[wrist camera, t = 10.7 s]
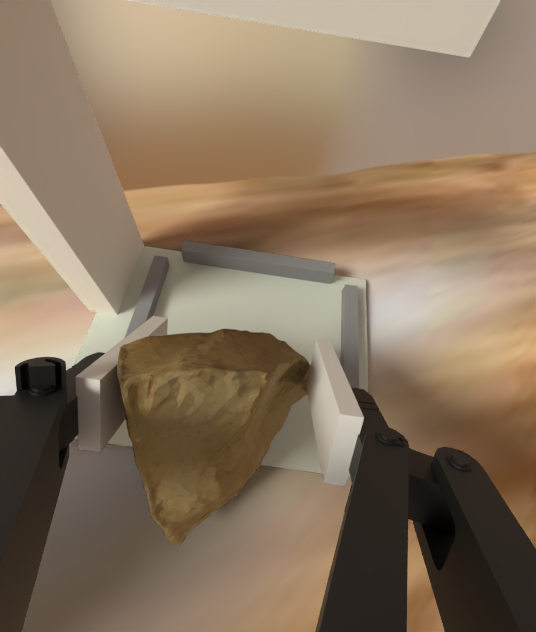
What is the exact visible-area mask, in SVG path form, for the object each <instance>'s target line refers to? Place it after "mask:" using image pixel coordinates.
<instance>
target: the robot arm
mask: <svg viewBox="0 0 536 632" xmlns="http://www.w3.org/2000/svg"><path fill="white" fill-rule="evenodd" d="M167 326H168V318H165V317H158V316H152V317H151V318H150V319H148V320H147V321H146V322H145V323H143V324H142V325H141V326H139V327H138V328H137V329H136V330H134V331H133V332H132V333H131V334H129V335H128V336H127V337H125V338H124V339H123V340H122V341H120V342H119V343H118V344H117V345H115V346H114V347H113V348H111V349H110V350H109V351H108V352H106V353H102V352H97V353H94V354H91V355H89V356H86V357H85V358H83V359H82V360H81V361H79V362H78V363H76V364H75V365H74V366H72V368H70V369H68V370H67V371H66V363H65V361H63V360H62V359H59V358H55V357H40V358H34V359H29V360H26V361H23V362H21V363H19V364H18V365H17V366H15V375H16V386H17V392H16V393H15V395H13V396H0V632H21V631H22V628H23V624H24V620H25V617H26V613H27V609H28V606H29V602H30V598H31V595H32V591H33V587H34V584H35V580H36V576H37V573H38V569H39V565H40V561H41V558H42V554H43V550H44V547H45V543H46V539H47V536H48V532H49V528H50V525H51V521H52V517H53V514H54V510H55V506H56V502H57V499H58V495H59V491H60V488H61V484H62V480H63V477H64V473H65V469H66V466H67V462H68V458H69V444H70V442H71V441H72V440H73V439H74V438H75V437H76V436H77V440H78V450H85V451H92V452H101V451H102V450H103V449H104V447H105V446H106V445H107V443H108V442H109V441H110V439H111V438H112V437H113V435H114V434H115V433H116V431H117V430H118V429H119V427H120V426H121V425H122V423H123V422H124V421H125V419H126V417H125V409H124V403H123V398H122V393H121V387H120V383H119V378H118V374H117V365H118V357H119V351H120V347H121V346H122V345H125V344H128V343H131V342H133V341H135V340H138V339H141V338H144V337H147V336H164V335H167ZM307 393H308V398H309V404H310V409H311V415H312V421H313V426H314V432H315V438H316V443H317V449H318V455H319V460H320V466H321V472H322V477H323V483H324V484H332V485H339V486H346V483H347V479H348V476H349V473H350V477H351V480H352V486H351V489H350V493H349V497H348V500H347V504H346V507H345V511H344V512H345V513H344V517H343V521H342V525H341V530H340V534H339V538H338V542H337V546H336V550H335V554H334V558H333V562H332V566H331V570H330V574H329V578H328V582H327V587H326V591H325V595H324V599H323V603H322V607H321V611H320V615H319V619H318V623H317V627H316V631H315V632H407V558H408V519H410V520H413V524H414V527H415V531H416V534H417V538H418V541H419V545H420V548H421V551H422V555H423V558H424V562H425V565H426V568H427V572H428V575H429V579H430V582H431V585H432V589H433V592H434V596H435V599H436V603H437V606H438V609H439V613H440V616H441V620H442V623H443V626H444V630H445V632H536V549H535V547H534V546H533V544H532V543H531V541H530V540H529V538H528V537H527V535H526V533H525V532H524V530H523V529H522V527H521V526H520V524H519V523H518V521H517V520H516V518H515V517H514V515H513V513H512V512H511V510H510V509H509V507H508V506H507V504H506V503H505V501H504V500H503V498H502V497H501V495H500V493H499V492H498V490H497V489H496V487H495V486H494V484H493V483H492V481H491V480H490V478H489V476H488V475H487V473H486V472H485V470H484V469H483V467H482V466H481V465H480V464H479V463H478V462H477V461H476V460H475V459H473V458H472V457H471V456H470V455H468V454H466V453H464V452H463V451H460V450H457V449H453V448H448V447H442V448H438V450H437V451H436V453H435V456H434V457H432V456H429V455H426V454H423V453H420V452H417V451H415V450H412V449H410V448H409V444H408V441H407V440H406V439H405V437H404V436H403V435H401V434H400V433H399V432H397V431H395V430H393V429H391V428H389V427H388V425H387V423H386V421H385V420H384V418H383V416H382V414H381V412H380V411H379V408H378V406H377V405H376V403H375V401H374V399H373V397H372V396H371V395H370V394H369V393H368V392H366V391H365V390H364V389H359V388H352V387H350V384H349V382H348V380H347V378H346V375H345V373H344V371H343V369H342V366H341V364H340V362H339V359H338V357H337V355H336V353H335V350H334V348H333V346H332V343H331V342H329V341H322V340H316V342H315V347H314V352H313V357H312V362H311V367H310V372H309V377H308V382H307Z"/></svg>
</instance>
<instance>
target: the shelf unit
mask: <svg viewBox="0 0 536 632" xmlns="http://www.w3.org/2000/svg"><path fill="white" fill-rule="evenodd" d="M127 1H133V2H139V3H144V4H151V5H157V6H163V7H169V8H175V9H181V10H187V11H193V12H199V13H205V14H211V15H217V16H223V17H229V18H235V19H241V20H247V21H253V22H259V23H266V24H271V25H277V26H283V27H289V28H295V29H301V30H308V31H313V32H319V33H326V34H331V35H338V36H343V37H349V38H356V39H361V40H367V41H374V42H380V43H386V44H391V45H397V46H403V47H410V48H416V49H422V50H428V51H434V52H440V53H446V54H452V55H458V56H464V57H470V56H471V54H472V52H473V50H474V49H475V47H476V45H477V43H478V41H479V39H480V37H481V36H482V34H483V32H484V30H485V28H486V26H487V25H488V23H489V21H490V19H491V17H492V15H493V13H494V12H495V10H496V8H497V6H498V4H499V2H500V1H501V0H127ZM0 204H1V205H2V206H3V207H4V208H5V210H6V211H7V212H8V213H9V214H10V216H11V217H12V218H13V219H14V220H15V222H16V223H17V224H18V225H19V226H20V228H21V229H22V230H23V231H24V232H25V234H26V235H27V236H28V237H29V238H30V240H31V241H32V242H33V243H34V244H35V246H36V247H37V248H38V249H39V250H40V252H41V253H42V254H43V255H44V256H45V258H46V259H47V260H48V261H49V262H50V264H51V265H52V266H53V267H54V268H55V270H56V271H57V272H58V273H59V274H60V276H61V277H62V278H63V279H64V280H65V282H66V283H67V284H68V285H69V286H70V288H71V289H72V290H73V291H74V292H75V294H76V295H77V296H78V297H79V298H80V300H81V301H82V302H83V303H84V304H85V306H86V307H87V308H88V309H89V310H90V311H95V312H96V315H95V317H94V319H93V322H92V324H91V326H90V329H89V331H88V333H87V336H86V338H85V340H84V343H83V345H82V347H81V350H80V352H79V354H78V357H77V359H76V361H75V364H76V363H78V362H79V361H81V360H82V359H83V358H85V357H86V356H89V355H91V354H94V353H97V352H102V353H106V352H108V351H109V350H110V349H111V348H113V347H114V346H115V345H117V344H118V343H119V342H120V341H122V340H123V339H124V338H125V337H127V336H128V335H129V334H131V333H132V332H133V331H134V330H136V329H137V328H138V327H139V326H141V325H142V324H143V323H145V322H146V321H147V320H148V319H150V318H151V317H152V316H158V317H165V318H168V326H167V335H172V334H180V333H200V332H201V333H212V332H214V331H217V330H220V329H235V330H239V331H244V330H247V331H249V332H258V333H260V332H264V333H270V334H272V335H273V336H275V337H276V338H277V339H278V340H280V341H285V342H286V343H287V344H288V345H289V346H290V347H292V348H293V349H294V350H295V351H296V352H298V353H299V354H301V355H302V356H304V357H305V358H306V359H307V360H308V362H309V364H310V366H311V362H312V357H313V352H314V347H315V342H316V340H322V341H329V342H331V343H332V346H333V348H334V350H335V353H336V355H337V357H338V359H339V362H340V364H341V366H342V369H343V371H344V373H345V375H346V378H347V380H348V382H349V384H350V387H352V388H359V389H364V390H365V391H366V392H368V393H369V391H368V353H367V316H366V280H365V279H359V278H352V277H346V276H339V275H334V274H335V263H331V262H324V261H318V260H311V259H304V258H298V257H291V256H285V255H278V254H272V253H265V252H259V251H252V250H245V249H239V248H232V247H226V246H219V245H213V244H206V243H199V242H193V241H186V240H184V242H183V245H182V248H181V251H174V250H168V249H161V248H155V247H148V246H144V244H143V241H142V239H141V236H140V233H139V231H138V228H137V226H136V223H135V220H134V218H133V215H132V212H131V210H130V207H129V205H128V202H127V199H126V197H125V194H124V192H123V189H122V186H121V184H120V181H119V179H118V176H117V173H116V171H115V168H114V166H113V163H112V160H111V158H110V155H109V152H108V150H107V147H106V145H105V142H104V140H103V137H102V134H101V132H100V129H99V126H98V124H97V121H96V119H95V116H94V113H93V111H92V108H91V106H90V103H89V100H88V98H87V95H86V92H85V90H84V87H83V85H82V82H81V79H80V77H79V74H78V72H77V69H76V66H75V64H74V61H73V59H72V56H71V53H70V51H69V48H68V46H67V43H66V40H65V38H64V35H63V32H62V30H61V27H60V25H59V22H58V19H57V17H56V14H55V12H54V9H53V7H52V4H51V1H50V0H0ZM75 364H74V365H75ZM74 439H77V436H76V437H75V438H74ZM107 444H114V445H121V446H128V447H133V446H132V442H131V440H130V438H129V435H128V430H127V424H126V419H125V421H124V422H123V423H122V425H121V426H120V427H119V429H118V430H117V431H116V433H115V434H114V435H113V437H112V438H111V439H110V441H109V442H108V443H107ZM261 465H264V466H271V467H279V468H286V469H293V470H300V471H307V472H314V473H321V474H322V472H321V466H320V460H319V455H318V449H317V443H316V438H315V432H314V426H313V421H312V415H311V409H310V404H309V398H308V394H307V395H305V396H303V397H302V398H301V399H300V400H299V401H298V402H296V403H295V404H293V405H292V407H291V409H290V412H289V414H288V417H287V419H286V421H285V423H284V425H283V427H282V429H281V430H280V431H279V432H278V433H277V434H276V435H275V437H274V439H273V440H272V442H271V443H270V449H269V450H268V452H267V454H266V455H265V456H264V458H263V460H262V463H261ZM348 477H350V473H349V476H348ZM350 478H351V477H350Z"/></svg>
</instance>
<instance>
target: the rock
mask: <svg viewBox="0 0 536 632" xmlns="http://www.w3.org/2000/svg"><path fill="white" fill-rule="evenodd" d="M310 367H311V366H310V364H309V362H308V360H307V359H306V358H305V357H304V356H302V355H301V354H299V353H298V352H296V351H295V350H294V349H293V348H292V347H290V346H289V345H288V344H287V343H286V342H285V341H280V340H278V339H277V338H276V337H275V336H273V335H272V334H270V333H264V332H260V333H258V332H249V331H247V330H244V331H239V330H235V329H220V330H217V331H214V332H212V333H201V332H200V333H180V334H172V335H164V336H147V337H144V338H141V339H138V340H135V341H133V342H131V343H128V344H125V345H122V346H121V347H120V351H119V357H118V365H117V374H118V378H119V383H120V387H121V393H122V398H123V403H124V409H125V417H126V424H127V430H128V435H129V438H130V440H131V442H132V446H133V452H134V458H135V463H136V465H137V468H138V470H139V472H140V475H141V477H142V480H143V486H144V489H145V491H146V495H147V500H148V502H149V510H150V513H151V515H152V517H153V519H154V520H155V522H156V523H157V524H158V525H159V526H160V527H161V528H162V530H163V532H164V536H165V537H166V538H168V542H169V543H170V544H180V543H182V542H183V541H184V539H185V537H186V535H187V534H188V533H189V531H190V530H191V529H192V528H194V527H195V526H197V525H198V524H199V523H201V522H202V521H203V520H204V519H206V518H207V517H208V516H209V515H210V514H211V513H212V512H214V511H216V510H218V509H219V508H221V507H222V506H223V505H225V504H226V503H227V502H228V501H229V500H230V499H231V498H232V497H234V496H238V495H239V493H240V492H241V490H242V488H243V487H244V486H245V485H246V483H247V481H248V480H249V478H250V477H251V476H252V475H253V474H254V472H255V471H257V469H258V468H259V466H260V465H261V463H262V460H263V458H264V456H265V455H266V454H267V452H268V450H269V449H270V443H271V442H272V440H273V439H274V437H275V435H276V434H277V433H278V432H279V431H280V430H281V429H282V427H283V425H284V423H285V421H286V419H287V417H288V414H289V412H290V409H291V407H292V405H293V404H295V403H296V402H298V401H299V400H300V399H301V398H302V397H303V396H305V395H307V394H308V393H307V382H308V377H309V372H310Z"/></svg>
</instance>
